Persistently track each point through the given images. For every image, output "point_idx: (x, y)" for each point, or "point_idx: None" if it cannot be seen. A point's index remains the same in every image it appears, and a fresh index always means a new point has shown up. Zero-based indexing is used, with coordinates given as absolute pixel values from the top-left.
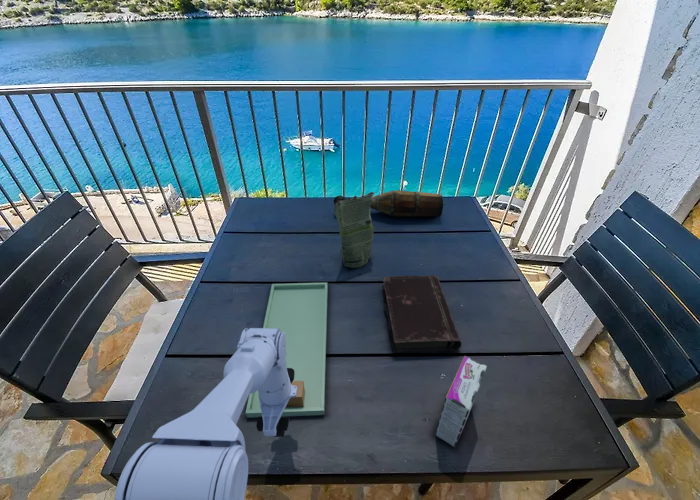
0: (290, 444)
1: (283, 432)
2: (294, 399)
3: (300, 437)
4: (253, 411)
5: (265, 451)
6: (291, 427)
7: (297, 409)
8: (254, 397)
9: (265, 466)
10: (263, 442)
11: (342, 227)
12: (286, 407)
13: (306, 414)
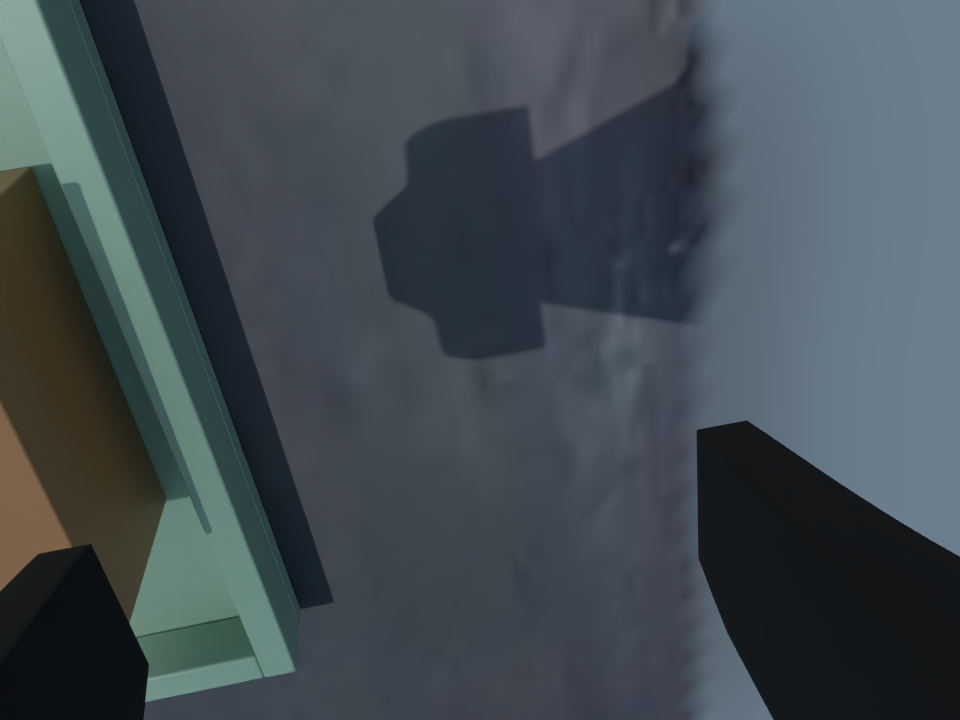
0: (460, 193)
1: (929, 544)
2: (5, 335)
3: (375, 108)
4: (262, 624)
5: (546, 388)
6: (292, 232)
7: (102, 239)
8: None
9: (663, 348)
10: (475, 427)
11: None
12: (106, 348)
13: (109, 107)
